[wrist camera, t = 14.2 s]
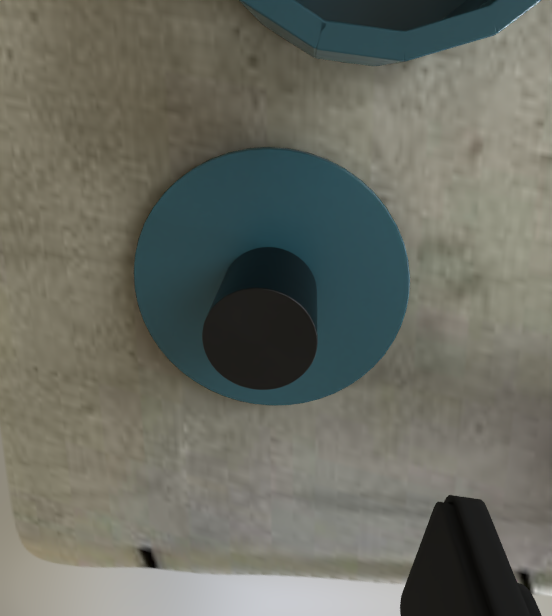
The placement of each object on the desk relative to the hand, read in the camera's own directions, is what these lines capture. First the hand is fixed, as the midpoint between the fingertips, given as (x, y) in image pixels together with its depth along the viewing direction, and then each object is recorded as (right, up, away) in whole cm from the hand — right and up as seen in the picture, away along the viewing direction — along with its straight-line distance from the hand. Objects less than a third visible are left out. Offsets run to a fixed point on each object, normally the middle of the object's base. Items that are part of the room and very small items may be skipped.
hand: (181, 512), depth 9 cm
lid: (+1, +5, +18) cm, 18 cm away
